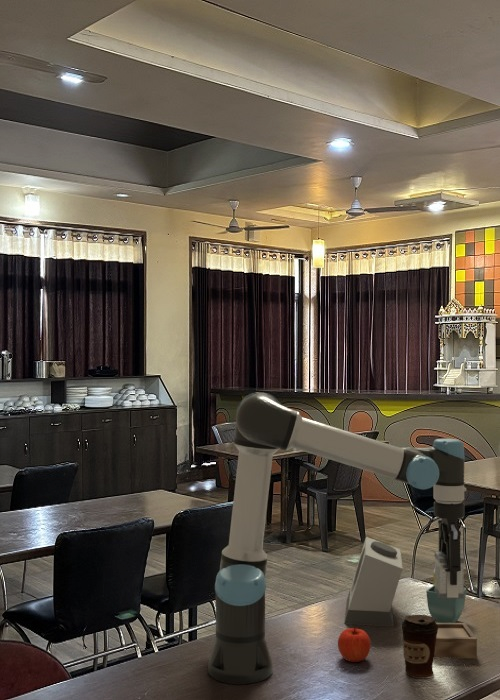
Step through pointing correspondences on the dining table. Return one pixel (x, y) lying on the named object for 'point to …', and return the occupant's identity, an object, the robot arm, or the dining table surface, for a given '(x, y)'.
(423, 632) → the coffee cup
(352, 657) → the apple
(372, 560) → the alarm clock
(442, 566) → the block
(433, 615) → the flower pot
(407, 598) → the dining table surface
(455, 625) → the walnut stand
